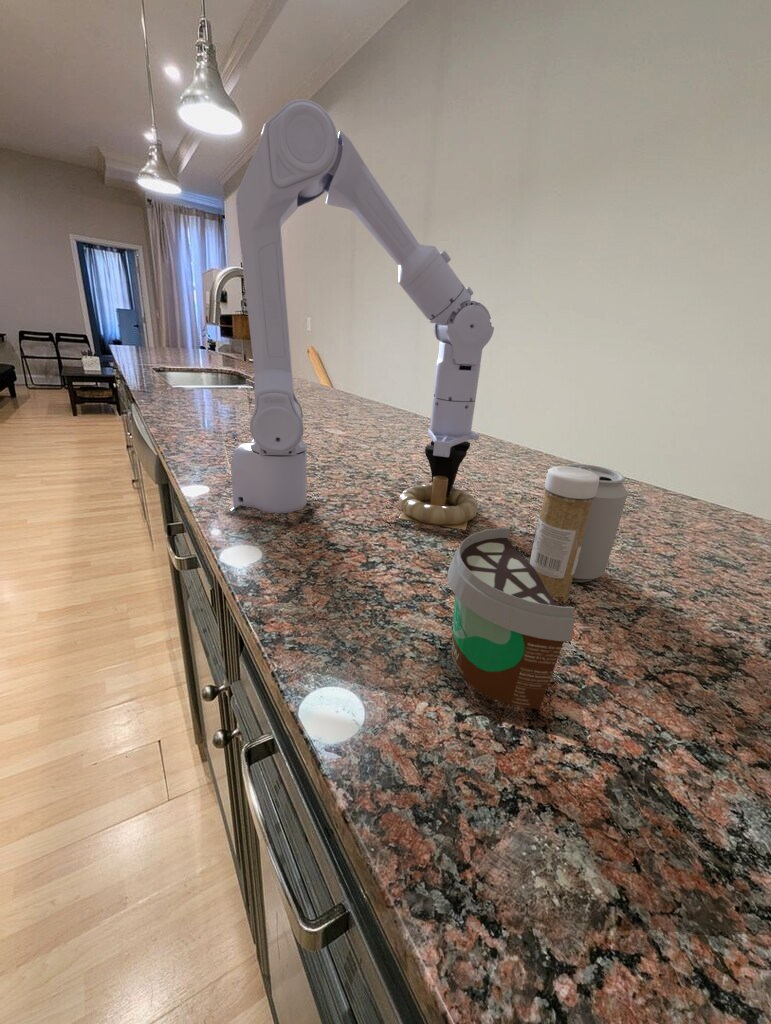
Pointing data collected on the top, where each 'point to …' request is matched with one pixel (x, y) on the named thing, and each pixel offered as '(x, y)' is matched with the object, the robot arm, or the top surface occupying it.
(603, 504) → the can
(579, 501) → the spice jar
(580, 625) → the top surface
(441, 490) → the post
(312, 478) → the top surface
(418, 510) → the ring
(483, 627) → the food container
